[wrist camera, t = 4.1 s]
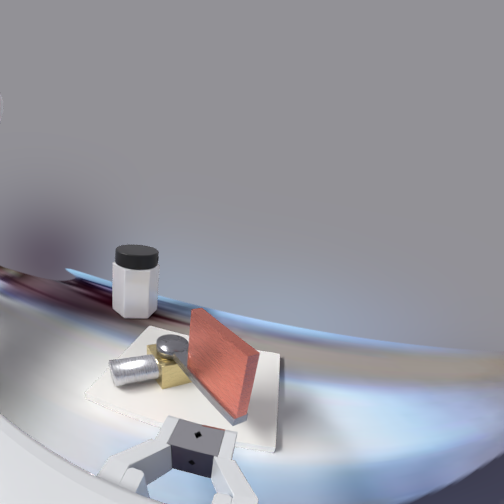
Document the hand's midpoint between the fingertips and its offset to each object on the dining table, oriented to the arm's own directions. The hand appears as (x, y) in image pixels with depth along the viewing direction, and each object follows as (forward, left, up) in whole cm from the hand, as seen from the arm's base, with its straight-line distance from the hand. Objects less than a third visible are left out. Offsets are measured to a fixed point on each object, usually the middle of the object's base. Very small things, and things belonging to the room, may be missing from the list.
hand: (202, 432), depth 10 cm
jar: (-22, +38, -15) cm, 47 cm away
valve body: (-8, +21, -15) cm, 27 cm away
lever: (-4, +17, -10) cm, 20 cm away
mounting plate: (-5, +22, -15) cm, 27 cm away
